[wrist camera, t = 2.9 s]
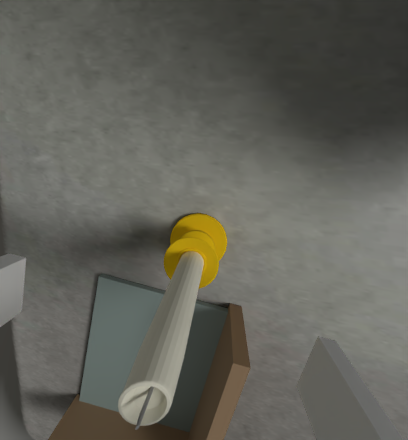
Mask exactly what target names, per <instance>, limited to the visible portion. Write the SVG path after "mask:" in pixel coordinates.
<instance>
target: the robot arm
mask: <svg viewBox="0 0 408 440" xmlns="http://www.w3.org/2000/svg"><path fill="white" fill-rule="evenodd" d="M25 266H26V258H25V257H22V256H18V255H14V254H10V253H9V254H6V255H3V256H1V257H0V327H1V326H2V325H3V324H5V323H7V322H8V321H9V320H11V319H12V318H14V317H15V316H16V315H18V314H19V313H21V312H22V302H23V290H24V278H25ZM297 389H298V391H299V394H300V397H301V400H302V402H303V405H304V408H305V410H306V413H307V416H308V419H309V421H310V424H311V427H312V430H313V432H314V435H315V438H316V440H404V439H403V437H402V436H401V434H400V433H399V431H398V430H397V429H396V427H395V426H394V424H393V423H392V421H391V420H390V419H389V417H388V416H387V414H386V413H385V411H384V410H383V408H382V407H381V406H380V404H379V403H378V401H377V400H376V398H375V397H374V395H373V394H372V393H371V391H370V390H369V388H368V387H367V385H366V384H365V383H364V381H363V380H362V378H361V377H360V375H359V374H358V372H357V371H356V370H355V368H354V367H353V365H352V364H351V362H350V361H349V360H348V358H347V357H346V355H345V354H344V352H343V351H342V349H341V348H340V347H339V345H338V344H337V342H336V341H335V340H331V339H327V338H323V337H320V336H318V338H317V340H316V342H315V345H314V347H313V349H312V352H311V354H310V356H309V358H308V361H307V363H306V365H305V368H304V370H303V372H302V375H301V377H300V379H299V381H298V384H297Z"/></svg>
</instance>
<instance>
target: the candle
mask: <svg viewBox="0 0 408 440" xmlns="http://www.w3.org/2000/svg"><path fill="white" fill-rule="evenodd" d="M170 244H171V245H170V247H169V248H168V249H167V251H166V253H165V256H164V268H165V271H166V273H167V276H168V277H169V278H170V279H171V281H170V283H169V285H168V287H167V289H166V292H165V294H164V296H163V298H162V301H161V303H160V305H159V307H158V309H157V312H156V314H155V316H154V318H153V320H152V323H151V325H150V327H149V329H148V332H147V334H146V336H145V338H144V340H143V343H142V345H141V347H140V349H139V352H138V354H137V357H136V359H135V362H134V364H133V367H132V369H131V372H130V374H129V377H128V379H127V382H126V385H125V387H124V390H123V392H122V393H121V395H120V398H119V401H118V409H119V413H120V414H121V416H122V418H124V419H125V420H126V421H127V422H129V423H131V424H134V425H136V428H135V430H137V429H138V428H139V427H140V426H146V425H152V424H154V423H157V422H159V421H160V420H161V419H163V418H164V417H165V415H166V414H167V413H168V411H169V409H170V407H171V404H172V401H173V397H174V394H175V390H176V386H177V382H178V378H179V375H180V371H181V367H182V363H183V360H184V355H185V350H186V346H187V341H188V336H189V332H190V327H191V322H192V318H193V313H194V308H195V303H196V299H197V294H198V289H199V288H202V287H205V286H206V285H208V284H210V283H211V282H212V281H213V279H214V278H215V277H216V274H217V272H218V267H219V262H218V261H219V260H220V259H221V258H222V257H223V255H224V253H225V251H226V246H227V237H226V233H225V230H224V228H223V227H222V225H221V224H220V223H219V222H218V221H217V220H216V219H215V218H213V217H211V216H209V215H207V214H201V213H196V214H190V215H188V216H185V217H183V218H182V219H181V220H179V221H178V222H177V224H176V225H175V226H174V228H173V230H172V233H171V237H170Z"/></svg>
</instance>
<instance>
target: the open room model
mask: <svg viewBox="0 0 408 440" xmlns="http://www.w3.org/2000/svg"><path fill="white" fill-rule="evenodd" d="M165 292H166V291H163V290H159V289H156V288H152V287H149V286H145V285H141V284H138V283H134V282H130V281H127V280H123V279H120V278H116V277H112V276H109V275H105V274H101V275H100V276H99V279H98V285H97V291H96V298H95V304H94V310H93V316H92V323H91V329H90V335H89V342H88V348H87V354H86V361H85V367H84V373H83V379H82V386H81V392H80V395H79V394H77V396H76V397H75V399H74V400H73V402H72V403H71V405H70V406H69V408H68V409H67V411H66V413H65V414H64V416H63V417H62V419H61V420H60V422H59V423H58V425H57V427H56V428H55V430H54V431H53V433H52V434H51V436H50V437H49V439H48V440H224V437H225V435H226V432H227V429H228V427H229V424H230V421H231V419H232V416H233V413H234V411H235V408H236V405H237V403H238V400H239V397H240V395H241V392H242V389H243V387H244V384H245V381H246V379H247V376H248V373H249V371H250V362H249V355H248V348H247V341H246V334H245V327H244V320H243V313H242V307H241V306H238V305H234V304H231V303H230V304H229V307H228V308H225V307H221V306H217V305H214V304H210V303H206V302H203V301H199V300H196V303H195V308H194V313H193V318H192V322H191V327H190V332H189V336H188V341H187V346H186V350H185V355H184V360H183V363H182V367H181V371H180V375H179V378H178V382H177V386H176V390H175V394H174V397H173V401H172V404H171V407H170V409H169V411H168V413H167V414H166V415H165V417H164V418H163V419H161V420H160V421H159V422H157V423H154V424H152V425H146V426H140V427H139V428H138V429H137V430H135V428H136V425H134V424H131V423H129V422H127V421H126V420H125V419H124V418H122V416H121V414H120V413H119V409H118V401H119V398H120V395H121V393H122V392H123V390H124V387H125V385H126V382H127V379H128V377H129V374H130V372H131V369H132V367H133V364H134V362H135V359H136V357H137V354H138V352H139V349H140V347H141V345H142V343H143V340H144V338H145V336H146V334H147V332H148V329H149V327H150V325H151V323H152V320H153V318H154V316H155V314H156V312H157V309H158V307H159V305H160V303H161V301H162V298H163V296H164V294H165Z"/></svg>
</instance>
